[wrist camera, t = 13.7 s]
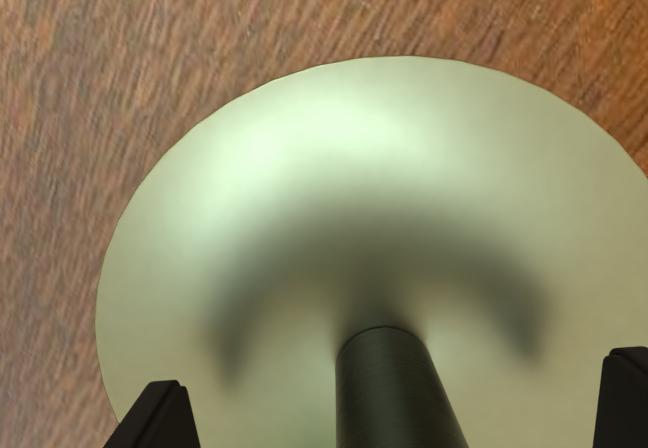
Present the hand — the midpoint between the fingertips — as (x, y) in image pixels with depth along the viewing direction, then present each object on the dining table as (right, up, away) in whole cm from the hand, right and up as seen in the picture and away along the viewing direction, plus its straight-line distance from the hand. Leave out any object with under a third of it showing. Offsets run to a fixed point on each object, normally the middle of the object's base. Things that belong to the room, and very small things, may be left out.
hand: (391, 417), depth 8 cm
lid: (0, +1, +2) cm, 2 cm away
